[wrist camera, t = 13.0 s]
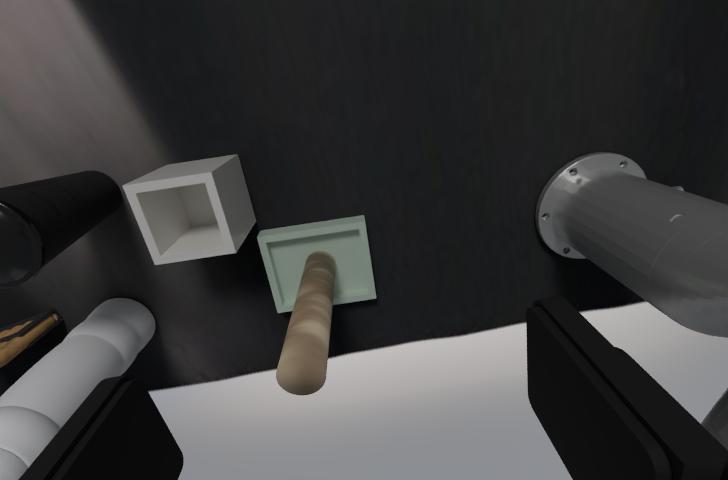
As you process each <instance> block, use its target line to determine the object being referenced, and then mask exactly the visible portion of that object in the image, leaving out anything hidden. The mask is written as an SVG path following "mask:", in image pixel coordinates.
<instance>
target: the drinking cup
mask: <svg viewBox="0 0 728 480" xmlns="http://www.w3.org/2000/svg"><path fill="white" fill-rule="evenodd" d="M120 203H121V192H120V189H119V187H118V185H117V184H116V183H115V181H114V180H113V179H111V178H110V177H109V176H107V175H106V174H104V173H101V172H98V171H85V172H80V173H75V174H70V175H65V176H60V177H54V178H49V179H44V180H39V181H34V182H29V183H24V184H19V185H14V186H9V187H4V188H0V288H12V287H17V286H20V285H23V284H25V283H27V282H29V281H30V280H32V279H33V278H35V277H36V276H37V275H38V274H39V273H40V271H41V270H42V268H43V266H44V265H46V264H47V263H48V262H49V261H51V260H52V259H53V258H55V257H56V256H57V255H58V254H60V253H61V252H62V251H64V250H65V249H66V248H68V247H69V246H70V245H71V244H73V243H74V242H75V241H77V240H78V239H79V238H80V237H82V236H83V235H84V234H86V233H87V232H88V231H89V230H91V229H92V228H93V227H95V226H96V225H97V224H98V223H100V222H101V221H102V220H104V219H105V218H106V217H107V216H109V215H110V214H111V213H113V212H114V211H115V210H116V209H117V208H118V207H119V205H120Z"/></svg>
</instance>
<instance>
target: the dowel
mask: <svg viewBox="0 0 728 480" xmlns="http://www.w3.org/2000/svg"><path fill="white" fill-rule="evenodd" d="M335 273H336V261H335V259H334V257H333V256H332V255H331V254H329V253H327V252H325V251H316V252H313V253H312V254H310V255H309V256H308V258H307V259H306V263H305V267H304V270H303V274H302V278H301V282H300V285H299V289H298V293H297V297H296V300H295V304H294V308H293V312H292V316H291V319H290V323H289V327H288V331H287V334H286V338H285V342H284V346H283V349H282V353H281V357H280V361H279V364H278V368H277V372H276V378H277V381H278V383H279V385H280V386H281V387H282V388H283V389H284V390H285V391H287V392H289V393H292V394H296V395H308V394H312V393H315V392H316V391H318V390H319V389H320V388H321V387H322V386H323V385H324V383H325V380H326V369H327V359H328V348H329V338H330V327H331V316H332V305H333V295H334V284H335Z"/></svg>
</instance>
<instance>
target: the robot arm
mask: <svg viewBox="0 0 728 480" xmlns="http://www.w3.org/2000/svg"><path fill="white" fill-rule="evenodd" d="M543 214H544V215H543ZM535 221H536V228H537V231H538V233H539V236H540V237H541V239H542V240H543V242H544V243H545V244H546V245H547V246H548V247H549V248H550V249H552V250H553V251H555V252H556V253H558V254H560V255H562V256H564V257H569V258H574V259H584V258H587V259H589V260H590V261H592V262H593V263H594V264H596V265H597V266H598V267H600V268H601V269H603V270H604V271H605V272H607V273H608V274H610V275H611V276H612V277H614V278H615V279H616V280H618V281H619V282H621V283H622V284H623V285H625V286H626V287H628V288H629V289H630V290H632V291H633V292H635V293H636V294H637V295H639V296H640V297H641V298H643V299H644V300H646V301H647V302H648V303H650V304H651V305H653V306H654V307H655V308H657V309H658V310H659V311H661V312H662V313H664V314H665V315H667V316H668V317H670V318H671V319H672V320H674V321H675V322H677V323H679V324H680V325H682V326H684V327H686V328H689V329H691V330H694V331H696V332H700V333H703V334H707V335H712V336H719V337H727V338H728V205H726V204H722V203H719V202H716V201H713V200H710V199H707V198H704V197H700V196H697V195H694V194H691V193H688V192H685V191H684V190H683V188H682V187H680V186H677V187H669V186H666V185H663V184H660V183H656V182H653V181H650V180H647V178H646V176H645V174H644V172H643V170H642V169H641V168H640V167H639V165H638V164H637V163H635V162H634V161H632V160H631V159H630V158H627V157H625V156H622V155H619V154H614V153H607V152H598V153H591V154H587V155H584V156H581V157H579V158H577V159H575V160H573V161H571V162H569V163H568V164H566V165H565V166H564V167H562V168H561V169H560V170H558V171H557V172H556V173H555V174H554V175H553V176H552V178H551V179H550V180H549V181H548V183H547V184H546V186H545V187H544V189H543V191H542V193H541V195H540V197H539V199H538V203H537V206H536V214H535ZM526 315H527V371H528V397H529V401H530V404H531V406H532V408H533V410H534V412H535V414H536V416H537V417H538V419H539V421H540V423H541V424H542V426H543V428H544V430H545V431H546V433H547V435H548V437H549V438H550V440H551V442H552V444H553V445H554V447H555V449H556V451H557V452H558V454H559V456H560V458H561V459H562V461H563V463H564V465H565V466H566V468H567V470H568V472H569V474H570V475H571V477H572V479H573V480H728V389H727V390H726V391H725V392H724V394H723V395H722V397H721V398H720V399H719V400H718V401H717V403H716V404H715V405H714V407H713V408H712V410H711V411H710V412H709V414H708V415H707V416H706V418H705V419H704V420H703V422H702V423H701V424H700V423H699V422H698V421H697V420H696V419H695V418H694V417H693V416H692V415H691V414H689V412H688V411H686V410H685V409H684V408H683V407H682V406H681V405H680V404H679V403H678V402H677V401H676V400H675V399H674V398H673V397H672V396H671V395H670V394H669V393H668V392H667V391H666V390H665V389H663V388H662V386H661V385H659V384H658V383H657V382H656V381H655V380H654V379H653V378H652V377H651V376H650V375H649V374H648V373H647V372H646V371H645V370H644V369H643V368H642V367H641V366H640V365H639V364H638V363H636V362H635V360H634V359H632V358H631V357H630V356H629V355H628V354H627V353H626V352H624V351H623V350H622V349H619V348H617V347H614V346H613V345H612V344H611V343H609V341H608V340H606V338H604V337H603V336H602V335H601V334H600V333H599V332H598V331H597V330H596V329H595V328H594V327H593V326H592V325H591V324H590V323H589V322H588V321H587V320H586V319H585V318H584V317H583V316H582V315H581V314H580V313H579V312H578V311H577V310H576V309H575V308H574V307H573V306H572V305H571V304H570V303H569V302H568V301H567V300H566V299H565V298H564V297H562V296H555V297H550V298H544V299H539V300H535V301H534V303H533V307H530V308H528V309H527V313H526ZM182 467H183V455H182V452H181V450H180V448H179V446H178V445H177V443H176V441H175V439H174V437H173V436H172V434H171V432H170V430H169V428H168V427H167V425H166V423H165V421H164V420H163V418H162V416H161V414H160V412H159V411H158V409H157V407H156V405H155V403H154V402H153V400H152V398H151V396H150V394H149V393H148V391H147V389H146V387H145V386H144V384H143V382H142V381H141V380H139V379H136V378H135V376H133V375H122V376H116V377H111V378H106V379H104V380H102V381H101V382H99V383H98V385H97V386H96V387H95V388H94V389H93V391H92V392H91V393H90V394H89V395H88V397H87V398H86V399H85V400H84V401H83V403H82V404H81V405H80V406H79V407H78V409H77V410H76V411H75V412H74V413H73V415H72V416H71V417H70V418H69V419H68V421H67V422H66V423H65V424H64V425H63V427H62V428H61V429H60V430H59V431H58V433H57V434H56V435H55V436H54V437H53V439H52V440H51V441H50V442H49V443H48V445H47V446H46V447H45V448H44V450H43V451H42V452H41V453H40V454H39V456H38V457H37V458H36V459H35V460H34V462H33V463H32V464H31V465H30V466H29V468H28V469H27V470H26V471H25V472H24V474H23V475H22V476H21V477H20V478H19V480H178V478H179V475H180V473H181V470H182Z"/></svg>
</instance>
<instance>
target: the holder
mask: <svg viewBox="0 0 728 480" xmlns="http://www.w3.org/2000/svg"><path fill="white" fill-rule="evenodd" d="M123 188H124V191H125V193H126V196H127V198H128V200H129V203H130V205H131V208H132V210H133V213H134V215H135V217H136V220H137V222H138V225H139V227H140V230H141V232H142V235H143V237H144V239H145V242H146V244H147V247H148V249H149V252H150V254H151V256H152V259H153V261H154V264H155V265H159V264H166V263H172V262H179V261H186V260H192V259H199V258H206V257H212V256H219V255H226V254H233V253H236V252H237V251H238V249H239V248H240V246H241V244H242V243H243V241H244V240H245V238H246V237H247V235H248V233H249V232H250V230H251V229H252V227H253V226H254V224H255V222H256V219H255V215H254V211H253V208H252V204H251V200H250V197H249V193H248V189H247V186H246V182H245V178H244V175H243V171H242V167H241V164H240V160H239V156H238V154H236V155H229V156H223V157H216V158H210V159H203V160H196V161H190V162H183V163H177V164H170V165H166V166H164V167H161V168H159V169H157V170H155V171H153V172H151V173H148V174H146V175H144V176H142V177H140V178H138V179H136V180H133V181H131V182H129V183H127V184H125V185H123Z"/></svg>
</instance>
